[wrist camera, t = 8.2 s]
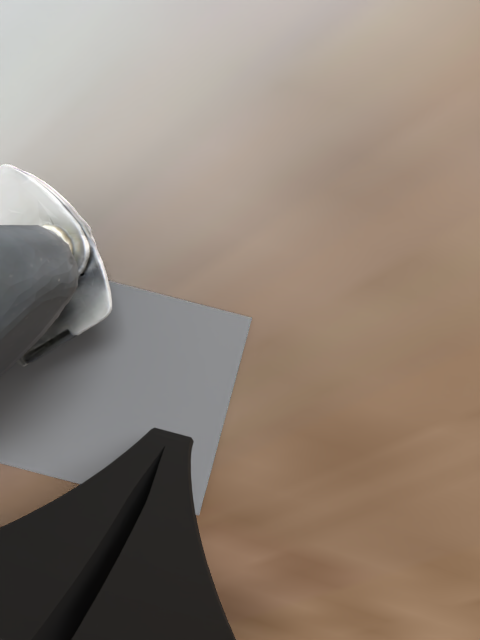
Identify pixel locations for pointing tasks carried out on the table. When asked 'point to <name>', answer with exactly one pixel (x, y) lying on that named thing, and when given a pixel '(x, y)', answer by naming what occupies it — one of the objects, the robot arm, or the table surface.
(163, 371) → the mat
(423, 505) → the table surface
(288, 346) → the table surface
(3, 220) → the can opener
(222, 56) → the table surface
